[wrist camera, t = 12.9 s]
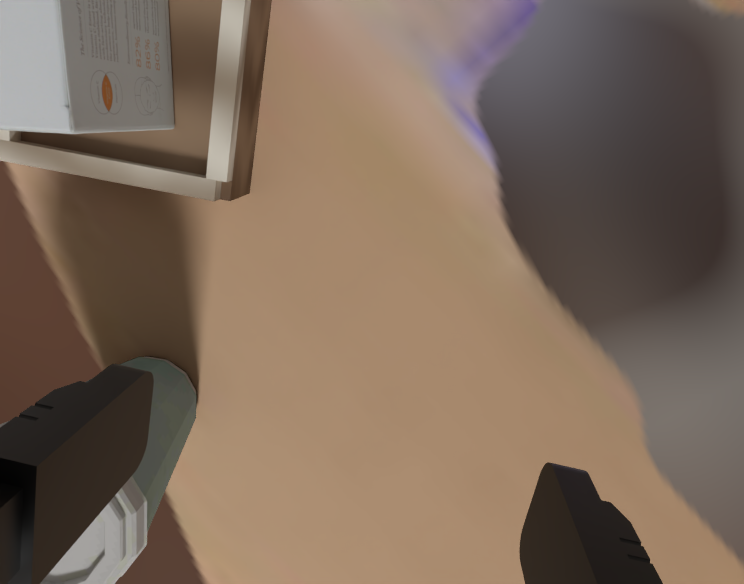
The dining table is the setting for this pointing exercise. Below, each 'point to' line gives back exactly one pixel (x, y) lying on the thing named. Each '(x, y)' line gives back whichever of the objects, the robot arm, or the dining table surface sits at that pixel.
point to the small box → (85, 66)
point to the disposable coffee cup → (134, 485)
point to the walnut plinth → (179, 112)
